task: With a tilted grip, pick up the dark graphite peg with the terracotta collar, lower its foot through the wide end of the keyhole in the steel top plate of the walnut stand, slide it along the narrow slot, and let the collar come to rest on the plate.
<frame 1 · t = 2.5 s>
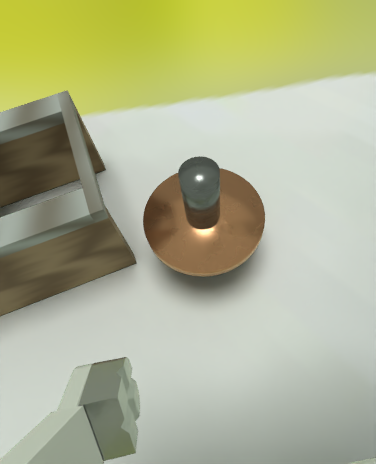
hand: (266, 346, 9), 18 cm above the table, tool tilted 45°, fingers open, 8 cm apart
keyhole stand: (37, 237, 34), on the table
keyhole peg: (206, 245, 32), on the table
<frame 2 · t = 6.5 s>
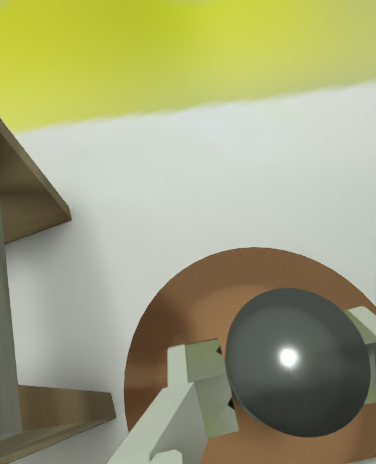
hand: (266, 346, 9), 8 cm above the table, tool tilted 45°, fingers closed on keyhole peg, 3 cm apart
keyhole peg: (249, 384, 16), on the table, touching gripper
when the fingers open (14 cm above the table, at t = 13.6 s): keyhole peg stays where it is, resting on keyhole stand.
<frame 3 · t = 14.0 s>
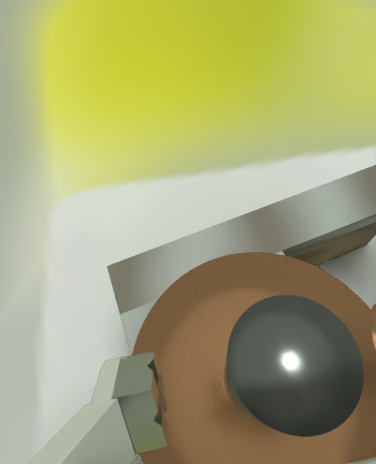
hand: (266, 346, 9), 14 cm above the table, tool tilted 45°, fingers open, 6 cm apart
keyhole stand: (302, 362, 22), on the table
keyhole peg: (249, 384, 17), point 5 cm above the table, touching keyhole stand
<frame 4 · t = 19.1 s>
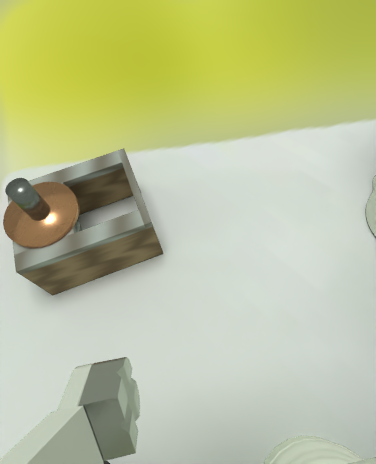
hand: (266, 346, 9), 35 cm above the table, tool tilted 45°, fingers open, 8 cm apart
keyhole stand: (99, 237, 53), on the table
keyhole peg: (59, 232, 48), point 5 cm above the table, touching keyhole stand
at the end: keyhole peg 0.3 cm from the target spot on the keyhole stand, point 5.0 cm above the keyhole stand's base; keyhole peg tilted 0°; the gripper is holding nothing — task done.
